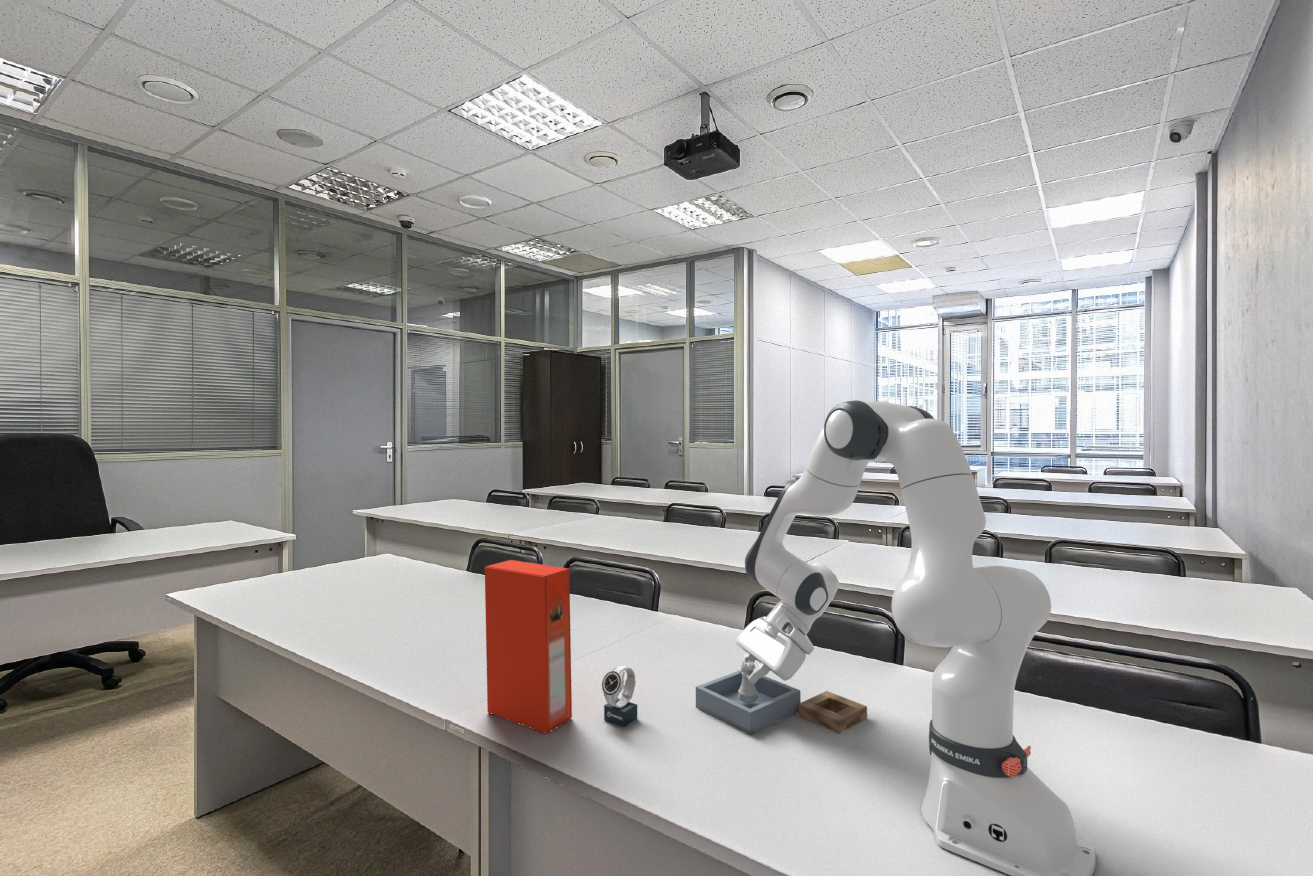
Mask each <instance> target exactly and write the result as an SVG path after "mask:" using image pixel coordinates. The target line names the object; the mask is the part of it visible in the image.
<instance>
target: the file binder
mask: <svg viewBox="0 0 1313 876" xmlns="http://www.w3.org/2000/svg"><path fill="white" fill-rule="evenodd" d="M570 578H571V577H570V569H569V568H568V567H567V568H566V567H561V566H553V565H547V564H540V563H534V562H527V561H521V560H514V559H509V560H505V561H501V562H497V563H493V564H490V565H486V566H485V567H484V594H485V595H484V596H485V597H484V598H485V599H484V600H485V601H484V602H485V604H484V607H485V641H486V642H485V643H486V644H485V648H486V651H485V652H486V653H485V654H486V656H485V657H486V694H487V695H486V697H487V699H486V700H487V701H486V702H487V704H486V705H487V713H488V714H490V713H492V714H494V715H493V716H495V715H497V716H496V717H498V716H500V717H499V718H501V717H503V718H502V719H504V718H506V719H509V720H511V721H510V722H512V721H514V722H513V723H515V722H516V723H515V724H518V723H520V724H523V725H525V726H524V727H526V726H527V727H526V728H529V727H531V728H530V729H532V728H534V729H535V731H537V730H539V731H538V732H540V731H542V732H541V733H543V732H545V733H544V734H546V733H548V734H549V732H550V731H551V730H553V731H554V730H556V729H557V728H556V727H558V728H559V727H560V725H561V724H562V725H564V724H565V723H567V722H569V721H570V720H571V719H572V717H573V711H572V710H573V708H572V707H573V705H572V703H573V702H572V701H573V699H572V652H571V651H572V647H571V646H572V644H571V641H572V638H571V596H570V595H571V593H570V592H571V591H570V590H571V589H570V588H571V586H570V585H571V584H570V581H571V580H570ZM492 714H491V715H492ZM506 719H505V720H506ZM509 720H508V721H509ZM568 720H569V721H568ZM563 723H564V724H563ZM520 724H519V725H520ZM523 725H522V726H523ZM562 725H561V726H562ZM555 728H556V729H555ZM534 729H533V730H534ZM551 732H552V731H551ZM551 732H550V733H551Z"/></svg>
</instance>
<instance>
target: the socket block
mask: <svg viewBox="0 0 1313 876" xmlns="http://www.w3.org/2000/svg"><path fill="white" fill-rule="evenodd" d="M798 716H799V717H800V718H804V719H805V720H807V721H809V722H812V723H814V724H817V725H818V726H821V727H823V728H826V729H828V730H831V731H833V732H835V733H838V734H842V733H843V732H845V731H846V730H848V729H850V728H852V727H854V726H855V725H857V724H859V723H861V722H862V721H864V720H867V719H868V706H866V705H865V704H862V703H859V702H856V701H854V700H852V699H849V698H847V697H844V696H842V695H839V694H836V693H833V692H831V691H828V690H825V691H823V692H821V693H819V694H817V695H813V696H812V697H810V698H808V699H806V700H803V701H802V702H801V703H799V712H798Z"/></svg>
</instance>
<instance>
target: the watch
mask: <svg viewBox="0 0 1313 876" xmlns="http://www.w3.org/2000/svg"><path fill="white" fill-rule="evenodd" d="M625 672H626V674H625ZM625 675H626V679H625V681H624V678H625ZM636 681H637V680H636V674H635V671H634V670H633V668H631V667H628V666H624V665H621V664H620V665H617V666H615V667H613V668H611V669H610V671H608V672H607V673H606V674H605V675H604V676H603V678H602V682H601V689H602V692H603V693H602V694H603V697H604V699H605V701H606V704H604V705H603V711H604V712H603V718H604V719H603V720H604V721H606V722H609V723H611V724H614V725H617V726H620V727H623V728H626V727H628V726H629V725H630V723H631V724H632V723H634V722H635V721H637V720H638V703H637V704H636V703H635V702H630V700H632V699H633V695H634V692H635V687H636ZM622 690H623V691H622ZM621 692H622V694H621V695H622V696H621V698H618V697H619V695H620V693H621ZM633 721H634V722H633Z"/></svg>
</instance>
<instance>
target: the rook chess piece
mask: <svg viewBox="0 0 1313 876" xmlns="http://www.w3.org/2000/svg"><path fill="white" fill-rule="evenodd" d="M754 663H755V662H754ZM754 663H753V661H751V660H748V662H747V660H744V661H743V660H741V664H740V666H739V667H741V669H742V670H743V671H742V673H741V674H742V684H741V686H740V689H739V690H738V693H739V695H738V698H739V699H740V700H741V701H743V702H746V703H752V702H755V701H756V700H757V699H758V696H757V694H758V691H757V690H756V687H755V685H754V684H752V683H751V682H750V681H749V680H748V679H747V678H746V676H747V675H748V674H749V672H750V671H751V672H752V673H753V671H755V670H756V665H755V664H754Z"/></svg>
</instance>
